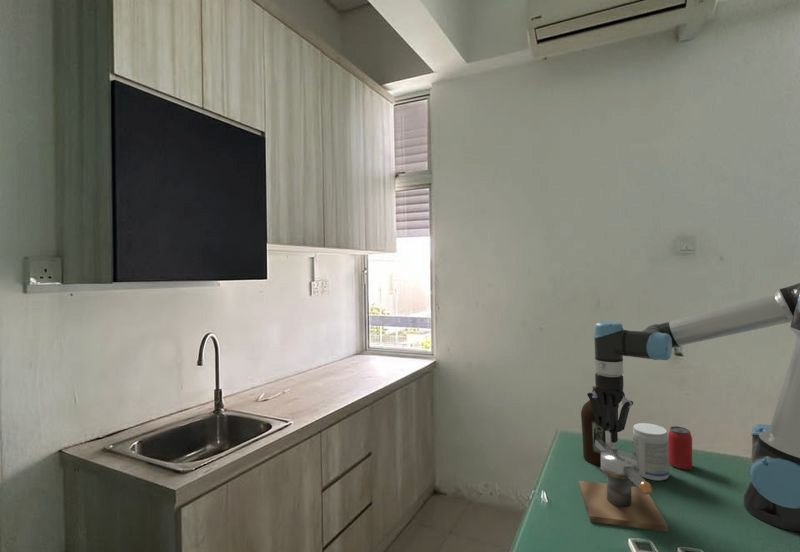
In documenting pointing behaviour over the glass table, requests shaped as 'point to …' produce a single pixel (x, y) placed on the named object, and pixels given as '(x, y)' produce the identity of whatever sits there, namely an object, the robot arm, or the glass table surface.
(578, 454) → the glass table surface
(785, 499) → the robot arm
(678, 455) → the beer can
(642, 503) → the square wooden board
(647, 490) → the disc with handle bar
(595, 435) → the olive oil
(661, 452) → the supplement tub
